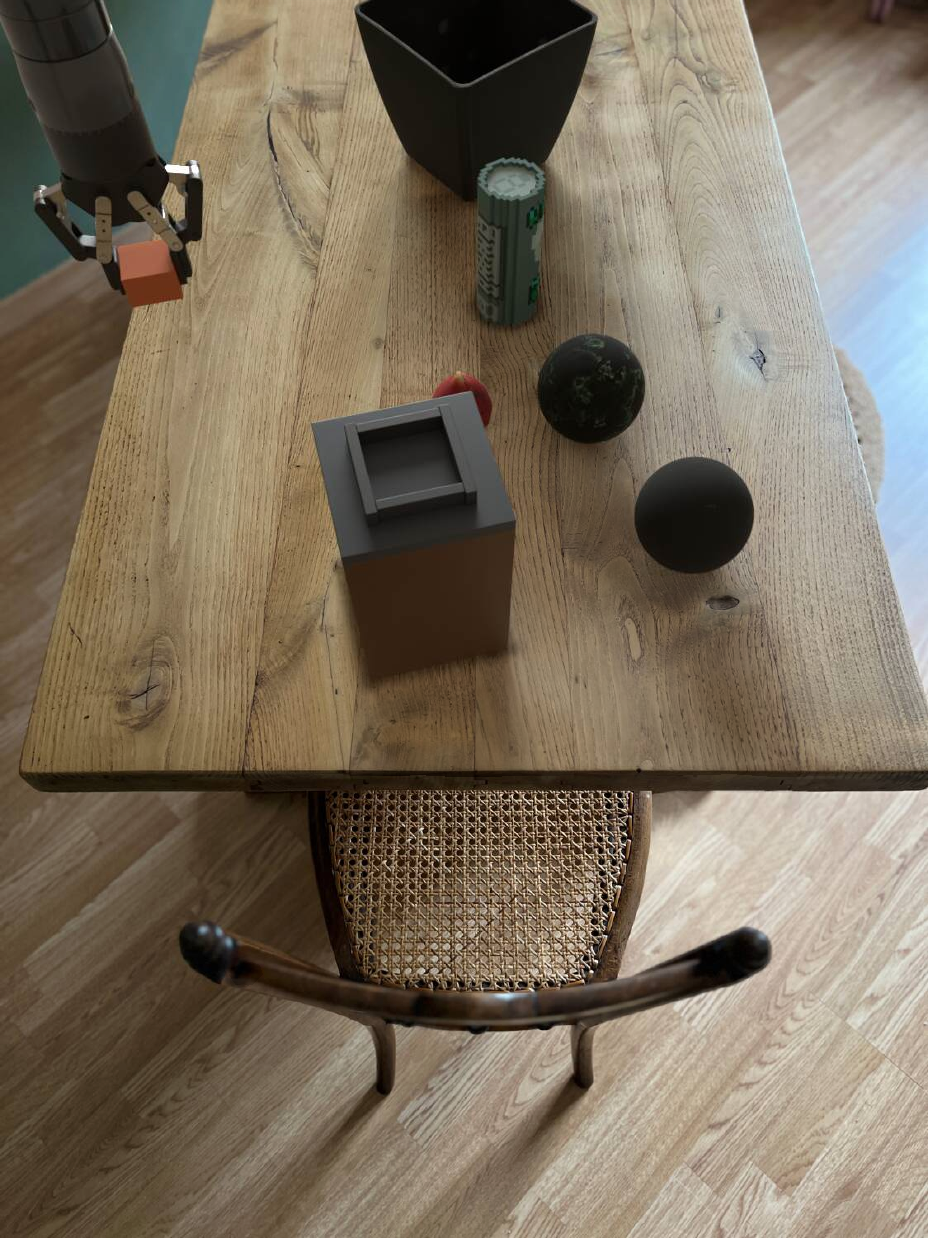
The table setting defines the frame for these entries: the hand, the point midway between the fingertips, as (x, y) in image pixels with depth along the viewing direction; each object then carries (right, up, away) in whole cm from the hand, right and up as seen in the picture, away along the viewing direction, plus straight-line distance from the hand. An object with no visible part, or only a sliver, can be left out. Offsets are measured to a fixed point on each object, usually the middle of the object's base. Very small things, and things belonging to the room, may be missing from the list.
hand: (154, 282), depth 83 cm
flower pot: (+29, +25, +28) cm, 48 cm away
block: (0, 0, 0) cm, 0 cm away
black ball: (+48, -24, 0) cm, 53 cm away
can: (+33, +3, +16) cm, 36 cm away
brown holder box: (+24, -29, -3) cm, 38 cm away
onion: (+28, -12, +7) cm, 31 cm away
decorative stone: (+40, -11, +7) cm, 42 cm away
